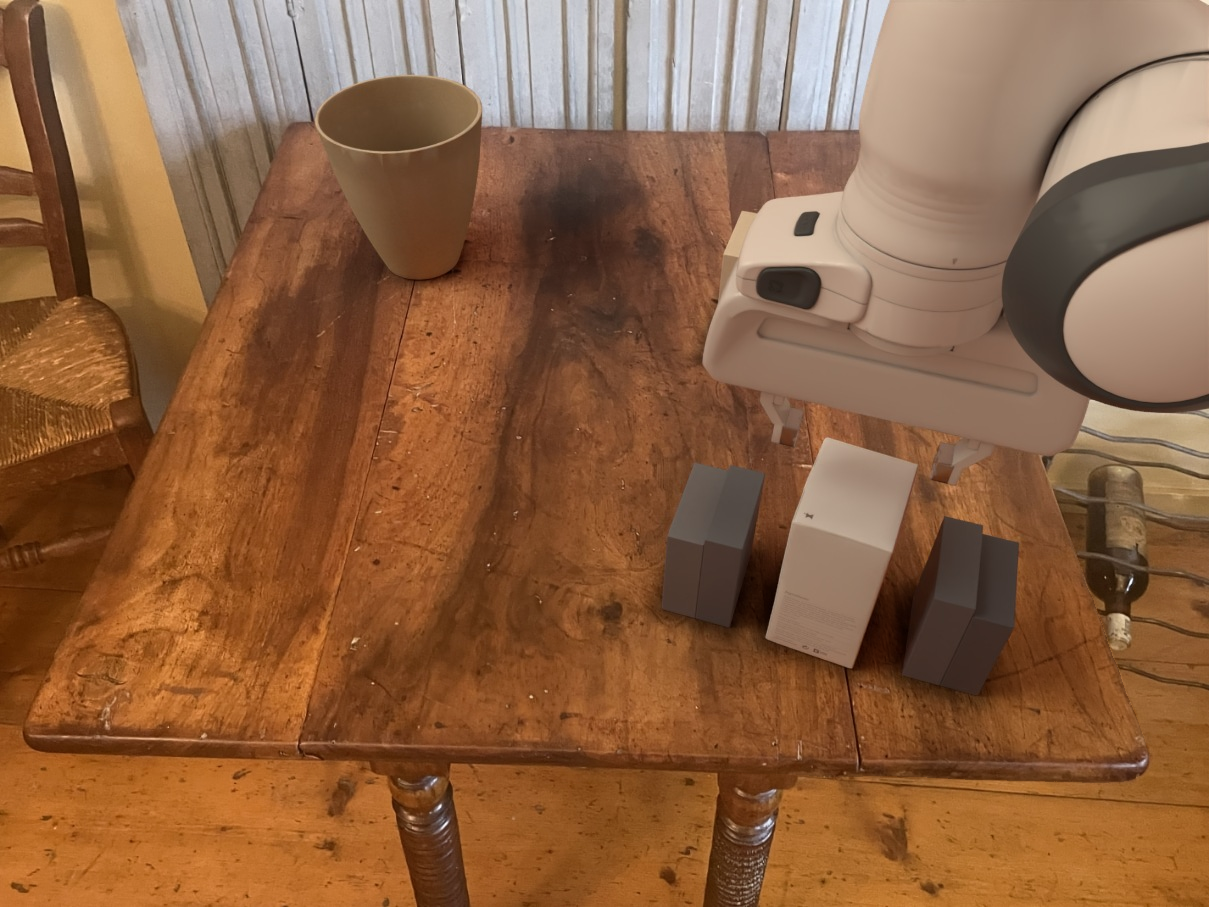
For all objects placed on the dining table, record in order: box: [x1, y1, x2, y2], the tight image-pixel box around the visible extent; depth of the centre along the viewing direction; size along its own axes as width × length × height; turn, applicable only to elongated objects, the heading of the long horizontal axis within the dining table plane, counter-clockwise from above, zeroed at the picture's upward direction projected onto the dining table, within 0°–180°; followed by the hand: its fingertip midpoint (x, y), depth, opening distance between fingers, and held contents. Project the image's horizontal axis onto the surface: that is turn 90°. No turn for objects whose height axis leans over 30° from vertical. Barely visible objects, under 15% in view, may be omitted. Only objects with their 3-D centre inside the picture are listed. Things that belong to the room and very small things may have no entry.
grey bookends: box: [661, 462, 1020, 697], centre depth 67 cm, size 22×7×9 cm, turn 72°
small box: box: [765, 436, 919, 669], centre depth 66 cm, size 8×6×13 cm
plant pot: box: [314, 74, 483, 281], centre depth 94 cm, size 15×15×16 cm
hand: (862, 456), depth 59 cm, fingers open, 8 cm apart
